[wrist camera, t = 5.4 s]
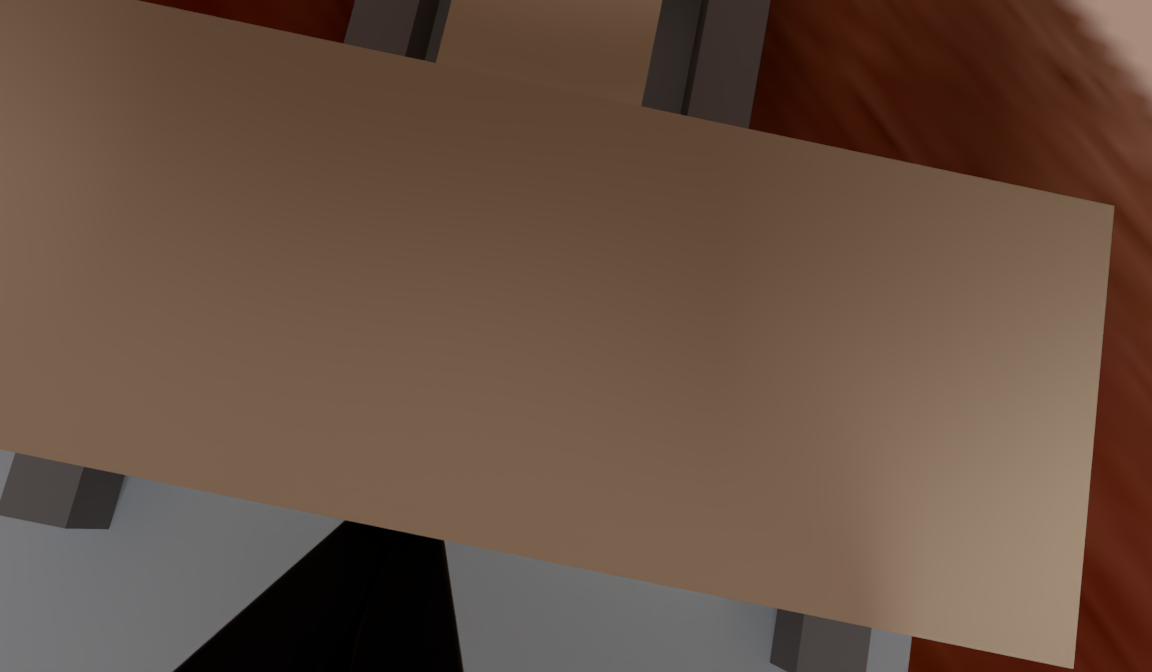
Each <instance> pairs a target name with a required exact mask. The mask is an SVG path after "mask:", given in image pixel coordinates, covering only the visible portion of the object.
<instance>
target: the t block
mask: <svg viewBox="0 0 1152 672" xmlns="http://www.w3.org/2000/svg"><path fill="white" fill-rule="evenodd" d="M661 5H662V0H451V4H450V8H449V12H448V16H447V20H446V24H445V28H444V32H443V36H442V40H441V44H440V48H439V52H438V56H437V60H436V63H433V62H429V61H424V60H419V59H414V58H410V57H405V56H400V55H395V54H391V53H386V52H381V51H376V50H372V49H367V48H362V47H357V46H353V45H348V44H343V43H338V42H334V41H329V40H324V39H319V38H315V37H310V36H305V35H300V34H296V33H291V32H286V31H281V30H277V29H272V28H267V27H262V26H258V25H253V24H248V23H243V22H239V21H234V20H229V19H224V18H220V17H215V16H210V15H205V14H201V13H196V12H191V11H186V10H182V9H177V8H172V7H167V6H163V5H158V4H153V3H148V2H144V1H139V0H0V450H5V451H10V452H15V453H20V454H24V455H29V456H34V457H39V458H44V459H49V460H54V461H59V462H64V463H68V464H73V465H78V466H83V467H88V468H93V469H98V470H103V471H108V472H112V473H117V474H122V475H127V476H132V477H137V478H142V479H147V480H152V481H156V482H161V483H166V484H171V485H176V486H181V487H186V488H191V489H196V490H200V491H205V492H210V493H215V494H220V495H225V496H230V497H235V498H240V499H244V500H249V501H254V502H259V503H264V504H269V505H274V506H279V507H284V508H288V509H293V510H298V511H303V512H308V513H313V514H318V515H323V516H328V517H332V518H337V519H342V520H347V521H352V522H357V523H362V524H367V525H372V526H376V527H381V528H386V529H391V530H396V531H401V532H406V533H411V534H416V535H420V536H425V537H430V538H435V539H440V540H445V541H450V542H455V543H460V544H464V545H469V546H474V547H479V548H484V549H489V550H494V551H499V552H504V553H508V554H513V555H518V556H523V557H528V558H533V559H538V560H543V561H548V562H553V563H557V564H562V565H567V566H572V567H577V568H582V569H587V570H592V571H597V572H601V573H606V574H611V575H616V576H621V577H626V578H631V579H636V580H641V581H645V582H650V583H655V584H660V585H665V586H670V587H675V588H680V589H685V590H689V591H694V592H699V593H704V594H709V595H714V596H719V597H724V598H729V599H733V600H738V601H743V602H748V603H753V604H758V605H763V606H768V607H773V608H777V609H782V610H787V611H792V612H797V613H802V614H807V615H812V616H817V617H821V618H826V619H831V620H836V621H841V622H846V623H851V624H856V625H861V626H865V627H870V628H875V629H880V630H885V631H890V632H895V633H900V634H905V635H909V636H914V637H919V638H924V639H929V640H934V641H939V642H944V643H949V644H953V645H958V646H963V647H968V648H973V649H978V650H983V651H988V652H993V653H997V654H1002V655H1007V656H1012V657H1017V658H1022V659H1027V660H1032V661H1037V662H1041V663H1046V664H1051V665H1056V666H1061V667H1066V668H1071V669H1073V668H1074V657H1075V646H1076V635H1077V623H1078V612H1079V601H1080V589H1081V578H1082V567H1083V556H1084V544H1085V533H1086V522H1087V510H1088V499H1089V488H1090V476H1091V465H1092V454H1093V443H1094V431H1095V420H1096V409H1097V397H1098V386H1099V375H1100V364H1101V352H1102V341H1103V330H1104V318H1105V307H1106V296H1107V285H1108V273H1109V262H1110V251H1111V239H1112V228H1113V217H1114V206H1113V205H1108V204H1103V203H1098V202H1094V201H1089V200H1084V199H1079V198H1075V197H1070V196H1065V195H1060V194H1056V193H1051V192H1046V191H1041V190H1037V189H1032V188H1027V187H1022V186H1018V185H1013V184H1008V183H1003V182H999V181H994V180H989V179H984V178H980V177H975V176H970V175H965V174H961V173H956V172H951V171H946V170H942V169H937V168H932V167H927V166H923V165H918V164H913V163H908V162H904V161H899V160H894V159H889V158H885V157H880V156H875V155H870V154H866V153H861V152H856V151H851V150H847V149H842V148H837V147H832V146H828V145H823V144H818V143H813V142H809V141H804V140H799V139H794V138H790V137H785V136H780V135H775V134H771V133H766V132H761V131H756V130H752V129H747V128H742V127H737V126H733V125H728V124H723V123H718V122H714V121H709V120H704V119H699V118H695V117H690V116H685V115H680V114H676V113H671V112H666V111H661V110H657V109H652V108H647V107H642V106H641V105H642V100H643V95H644V90H645V85H646V80H647V75H648V70H649V65H650V60H651V55H652V50H653V45H654V40H655V35H656V30H657V25H658V20H659V15H660V10H661Z"/></svg>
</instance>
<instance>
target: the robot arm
mask: <svg viewBox="0 0 1152 672" xmlns="http://www.w3.org/2000/svg"><path fill="white" fill-rule="evenodd" d="M172 672H464V668H463V662H462V655H461V648H460V642H459V635H458V628H457V622H456V615H455V608H454V602H453V595H452V588H451V582H450V575H449V568H448V562H447V555H446V548H445V542H444V540H440V539H435V538H430V537H425V536H420V535H416V534H411V533H406V532H401V531H396V530H391V529H386V528H381V527H376V526H372V525H367V524H362V523H357V522H352V521H347V520H345V521H343V522H342V523H341V524H340V525H339V526H338V527H337V528H335V529H334V530H333V531H332V532H331V533H330V534H329V535H327V536H326V537H325V538H324V539H323V540H322V541H321V542H319V543H318V544H317V545H316V546H315V547H314V548H313V549H311V550H310V551H309V552H308V553H307V554H306V555H305V556H304V557H302V558H301V559H300V560H299V561H298V562H297V563H296V564H294V565H293V566H292V567H291V568H290V569H289V570H288V571H286V572H285V573H284V574H283V575H282V576H281V577H280V578H278V579H277V580H276V581H275V582H274V583H273V584H272V585H270V586H269V587H268V588H267V589H266V590H265V591H264V592H262V593H261V594H260V595H259V596H258V597H257V598H256V599H254V600H253V601H252V602H251V603H250V604H249V605H248V606H247V607H245V608H244V609H243V610H242V611H241V612H240V613H239V614H237V615H236V616H235V617H234V618H233V619H232V620H231V621H229V622H228V623H227V624H226V625H225V626H224V627H223V628H221V629H220V630H219V631H218V632H217V633H216V634H215V635H213V636H212V637H211V638H210V639H209V640H208V641H207V642H205V643H204V644H203V645H202V646H201V647H200V648H199V649H197V650H196V651H195V652H194V653H193V654H192V655H191V656H189V657H188V658H187V659H186V660H185V661H184V662H183V663H182V664H180V665H179V666H178V667H177V668H176V669H175V670H174V671H172Z"/></svg>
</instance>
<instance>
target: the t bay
mask: <svg viewBox="0 0 1152 672" xmlns="http://www.w3.org/2000/svg"><path fill="white" fill-rule="evenodd" d="M770 2H771V0H662V5H661V10H660V15H659V20H658V25H657V30H656V35H655V40H654V45H653V50H652V55H651V60H650V65H649V70H648V75H647V80H646V85H645V90H644V95H643V100H642V105H641V106H642V107H647V108H652V109H657V110H661V111H666V112H671V113H676V114H680V115H685V116H690V117H695V118H699V119H704V120H709V121H714V122H718V123H723V124H728V125H733V126H737V127H742V128H747V129H749V123H750V117H751V112H752V106H753V100H754V94H755V89H756V83H757V77H758V71H759V65H760V60H761V54H762V48H763V42H764V36H765V31H766V25H767V19H768V13H769V7H770ZM450 4H451V0H355V3H354V6H353V10H352V14H351V18H350V21H349V25H348V29H347V32H346V36H345V40H344V43H343V44H348V45H353V46H357V47H362V48H367V49H372V50H376V51H381V52H386V53H391V54H395V55H400V56H405V57H410V58H414V59H419V60H424V61H429V62H433V63H436V60H437V56H438V52H439V48H440V44H441V40H442V36H443V32H444V28H445V24H446V20H447V16H448V12H449V8H450ZM343 521H345V520H342V519H337V518H332V517H328V516H323V515H318V514H313V513H308V512H303V511H298V510H293V509H288V508H284V507H279V506H274V505H269V504H264V503H259V502H254V501H249V500H244V499H240V498H235V497H230V496H225V495H220V494H215V493H210V492H205V491H200V490H196V489H191V488H186V487H181V486H176V485H171V484H166V483H161V482H156V481H152V480H147V479H142V478H137V477H132V476H127V475H122V474H117V473H112V472H108V471H103V470H98V469H93V468H88V467H83V466H78V465H73V464H68V463H64V462H59V461H54V460H49V459H44V458H39V457H34V456H29V455H24V454H20V453H15V452H10V451H5V450H0V672H172V671H174V670H175V669H176V668H177V667H178V666H179V665H180V664H182V663H183V662H184V661H185V660H186V659H187V658H188V657H189V656H191V655H192V654H193V653H194V652H195V651H196V650H197V649H199V648H200V647H201V646H202V645H203V644H204V643H205V642H207V641H208V640H209V639H210V638H211V637H212V636H213V635H215V634H216V633H217V632H218V631H219V630H220V629H221V628H223V627H224V626H225V625H226V624H227V623H228V622H229V621H231V620H232V619H233V618H234V617H235V616H236V615H237V614H239V613H240V612H241V611H242V610H243V609H244V608H245V607H247V606H248V605H249V604H250V603H251V602H252V601H253V600H254V599H256V598H257V597H258V596H259V595H260V594H261V593H262V592H264V591H265V590H266V589H267V588H268V587H269V586H270V585H272V584H273V583H274V582H275V581H276V580H277V579H278V578H280V577H281V576H282V575H283V574H284V573H285V572H286V571H288V570H289V569H290V568H291V567H292V566H293V565H294V564H296V563H297V562H298V561H299V560H300V559H301V558H302V557H304V556H305V555H306V554H307V553H308V552H309V551H310V550H311V549H313V548H314V547H315V546H316V545H317V544H318V543H319V542H321V541H322V540H323V539H324V538H325V537H326V536H327V535H329V534H330V533H331V532H332V531H333V530H334V529H335V528H337V527H338V526H339V525H340V524H341V523H342V522H343ZM444 542H445V548H446V555H447V562H448V568H449V575H450V582H451V588H452V595H453V602H454V608H455V615H456V622H457V628H458V635H459V642H460V648H461V655H462V662H463V668H464V672H908V664H909V656H910V648H911V639H912V636H909V635H905V634H900V633H895V632H890V631H885V630H880V629H875V628H870V627H865V626H861V625H856V624H851V623H846V622H841V621H836V620H831V619H826V618H821V617H817V616H812V615H807V614H802V613H797V612H792V611H787V610H782V609H777V608H773V607H768V606H763V605H758V604H753V603H748V602H743V601H738V600H733V599H729V598H724V597H719V596H714V595H709V594H704V593H699V592H694V591H689V590H685V589H680V588H675V587H670V586H665V585H660V584H655V583H650V582H645V581H641V580H636V579H631V578H626V577H621V576H616V575H611V574H606V573H601V572H597V571H592V570H587V569H582V568H577V567H572V566H567V565H562V564H557V563H553V562H548V561H543V560H538V559H533V558H528V557H523V556H518V555H513V554H508V553H504V552H499V551H494V550H489V549H484V548H479V547H474V546H469V545H464V544H460V543H455V542H450V541H445V540H444Z"/></svg>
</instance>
